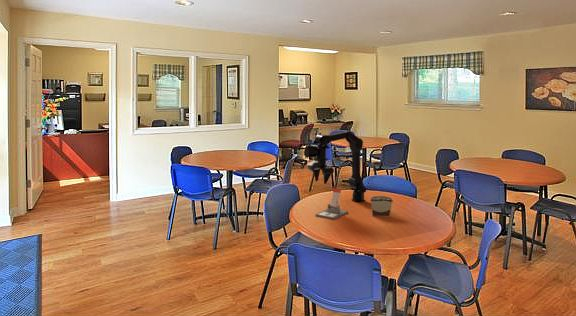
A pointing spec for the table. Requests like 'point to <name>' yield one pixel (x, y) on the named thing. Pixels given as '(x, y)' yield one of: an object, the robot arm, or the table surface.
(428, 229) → the table surface
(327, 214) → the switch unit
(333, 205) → the lever
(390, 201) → the food container
